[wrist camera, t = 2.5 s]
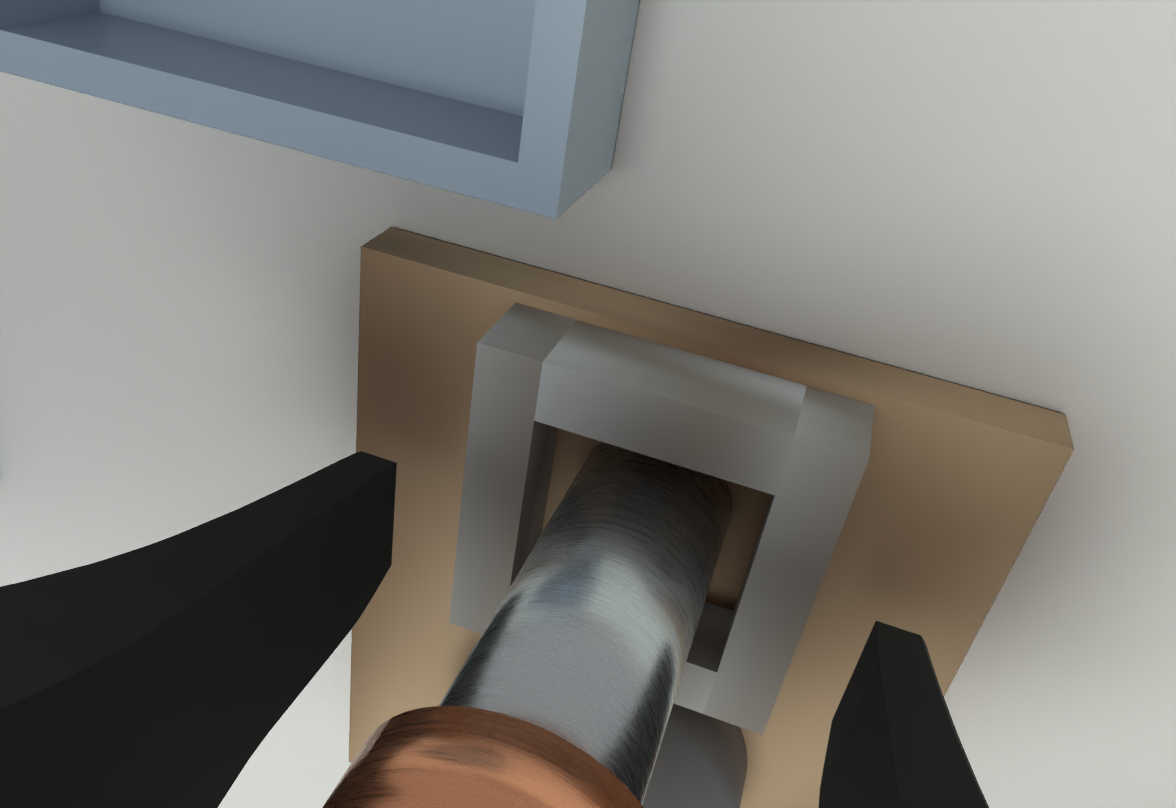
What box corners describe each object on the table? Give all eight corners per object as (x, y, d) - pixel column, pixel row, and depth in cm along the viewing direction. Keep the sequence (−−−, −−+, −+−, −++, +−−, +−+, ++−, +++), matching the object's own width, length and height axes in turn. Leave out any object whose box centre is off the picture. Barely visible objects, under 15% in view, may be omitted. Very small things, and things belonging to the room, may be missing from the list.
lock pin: (539, 546, 17) (299, 957, 10) (567, 375, 15) (293, 751, 8) (733, 611, 16) (605, 1094, 10) (788, 441, 14) (674, 903, 8)
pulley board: (369, 728, 23) (290, 850, 20) (391, 226, 16) (273, 302, 13) (817, 903, 21) (799, 1066, 18) (1065, 414, 14) (1100, 553, 11)
